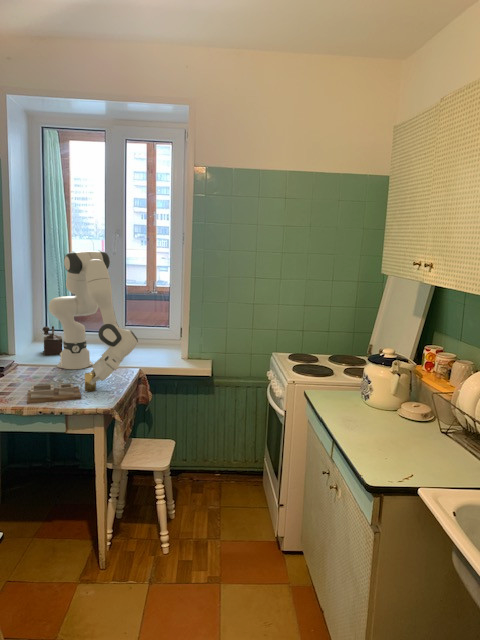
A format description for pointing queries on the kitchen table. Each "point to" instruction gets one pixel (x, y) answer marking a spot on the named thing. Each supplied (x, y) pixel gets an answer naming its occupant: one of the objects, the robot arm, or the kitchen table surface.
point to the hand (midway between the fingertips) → (89, 380)
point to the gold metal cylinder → (88, 378)
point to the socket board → (53, 393)
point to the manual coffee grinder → (52, 342)
